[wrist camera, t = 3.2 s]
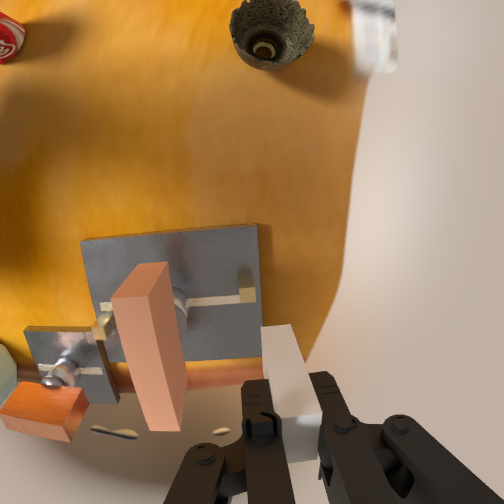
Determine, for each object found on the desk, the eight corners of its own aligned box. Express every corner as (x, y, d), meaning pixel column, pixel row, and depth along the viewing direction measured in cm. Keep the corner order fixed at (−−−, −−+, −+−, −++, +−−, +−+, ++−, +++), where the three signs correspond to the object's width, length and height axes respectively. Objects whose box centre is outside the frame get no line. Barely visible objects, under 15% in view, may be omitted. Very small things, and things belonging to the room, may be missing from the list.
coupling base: (112, 356, 39) (99, 381, 33) (85, 238, 34) (63, 251, 29) (263, 349, 40) (268, 376, 34) (255, 223, 35) (261, 234, 30)
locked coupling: (54, 392, 40) (18, 452, 27) (28, 326, 37) (-25, 379, 23) (120, 397, 41) (94, 469, 27) (97, 326, 37) (52, 393, 24)
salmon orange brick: (157, 373, 33) (141, 430, 24) (133, 261, 29) (100, 298, 21) (196, 372, 33) (189, 431, 24) (178, 257, 30) (159, 295, 21)
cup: (305, 75, 31) (326, 53, 24) (241, 91, 31) (245, 71, 24) (284, 19, 29) (298, -13, 22) (221, 34, 29) (219, 2, 22)
